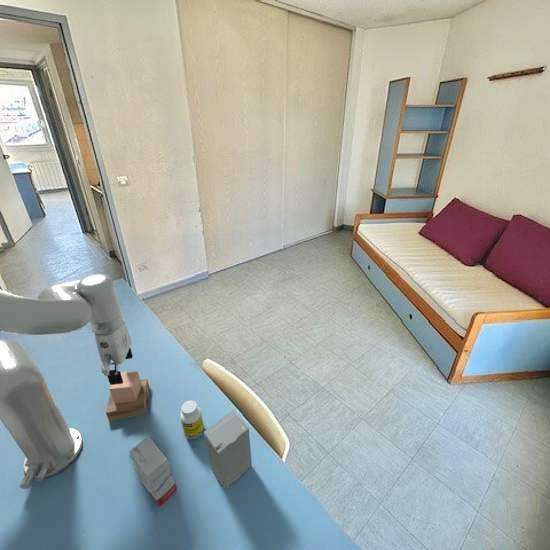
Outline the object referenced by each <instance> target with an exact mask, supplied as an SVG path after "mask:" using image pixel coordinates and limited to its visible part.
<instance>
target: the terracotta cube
mask: <svg viewBox="0 0 550 550" xmlns="http://www.w3.org/2000/svg"><path fill="white" fill-rule="evenodd" d="M120 373H121V376H122V379H123V383H122V384H115V385H110V386H109V392H110V394H111V395H112V397H113V400H114V403H115V404H117V403H126V402H136V401H137V399H138V396H139V393H140V390H141V387H142V383H141V380H142V379H141V377H140V374H139V371H138V370H133V371H122V372H121V371H120Z"/></svg>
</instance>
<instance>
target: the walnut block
mask: <svg viewBox="0 0 550 550" xmlns="http://www.w3.org/2000/svg"><path fill="white" fill-rule="evenodd" d="M140 380H141V383H142V387H141V390H140V393H139V396H138V399H137V401H136V402H126V403H117V404H115V403H114V400H113V397H112V395H111V393H110V394H109V399H108V402H107V405H106V406H107V407H106V410H105V415H106V418H107V420H108V422H109V423H110V422H113V421H117V420H122V419H126V418H130V417H135V416H139V415H144V414H147V413H148V402H149V394H150V385H149V379H148V378H144V379H140Z"/></svg>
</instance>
